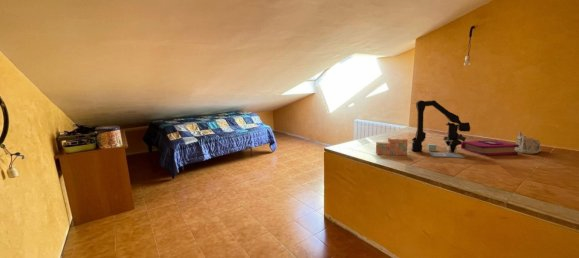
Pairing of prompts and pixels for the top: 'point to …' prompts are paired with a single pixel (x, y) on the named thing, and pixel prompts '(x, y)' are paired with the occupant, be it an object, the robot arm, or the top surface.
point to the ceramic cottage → (527, 144)
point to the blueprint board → (446, 155)
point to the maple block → (450, 150)
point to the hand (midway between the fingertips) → (451, 151)
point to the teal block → (431, 147)
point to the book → (489, 147)
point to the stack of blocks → (392, 147)
